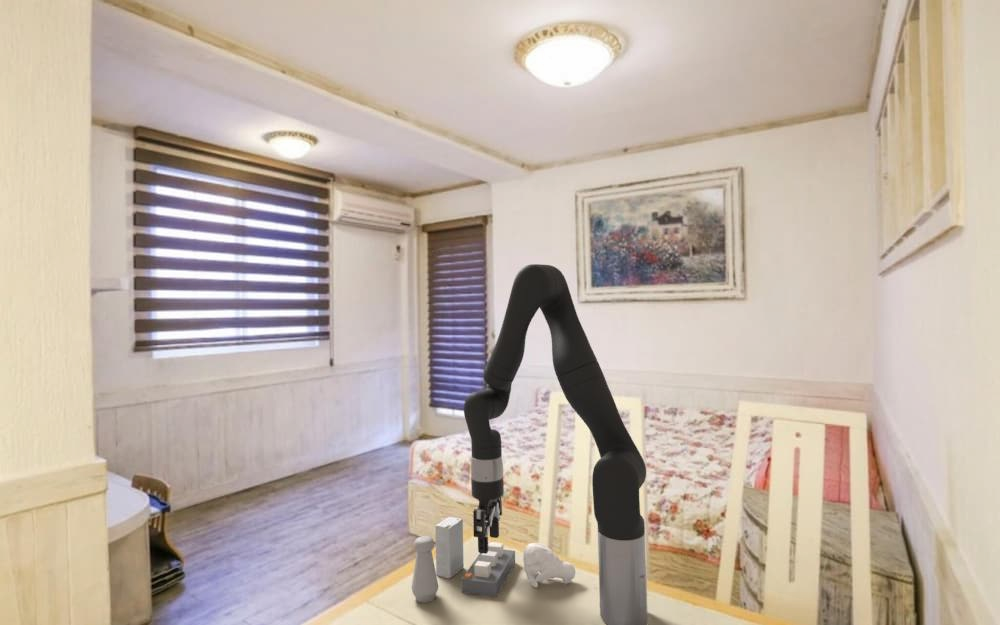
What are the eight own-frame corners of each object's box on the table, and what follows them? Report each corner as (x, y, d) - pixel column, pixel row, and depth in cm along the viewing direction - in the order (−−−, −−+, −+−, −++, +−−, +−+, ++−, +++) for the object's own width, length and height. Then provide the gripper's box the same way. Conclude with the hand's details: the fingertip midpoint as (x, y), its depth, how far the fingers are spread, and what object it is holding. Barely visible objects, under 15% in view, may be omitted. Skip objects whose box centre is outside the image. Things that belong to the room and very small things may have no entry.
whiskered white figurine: (525, 537, 124) (576, 543, 122) (523, 572, 124) (574, 580, 122) (522, 549, 117) (576, 556, 116) (520, 586, 118) (574, 594, 116)
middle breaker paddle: (497, 562, 123) (497, 552, 123) (494, 566, 121) (494, 556, 121) (484, 560, 124) (484, 550, 124) (481, 565, 122) (481, 554, 122)
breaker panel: (515, 562, 129) (514, 541, 129) (496, 597, 114) (495, 572, 114) (484, 559, 132) (483, 537, 132) (461, 592, 116) (461, 568, 116)
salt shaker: (433, 606, 111) (431, 545, 111) (408, 604, 112) (406, 543, 112) (442, 592, 117) (440, 533, 117) (417, 590, 118) (416, 532, 118)
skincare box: (449, 564, 129) (448, 515, 129) (464, 568, 127) (463, 518, 127) (435, 576, 124) (433, 524, 124) (451, 580, 122) (449, 528, 122)
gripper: (493, 486, 115) (495, 560, 115) (510, 467, 129) (512, 533, 128) (461, 484, 117) (463, 556, 117) (481, 465, 131) (483, 530, 131)
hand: (489, 544), depth 123 cm, fingers open, 8 cm apart
